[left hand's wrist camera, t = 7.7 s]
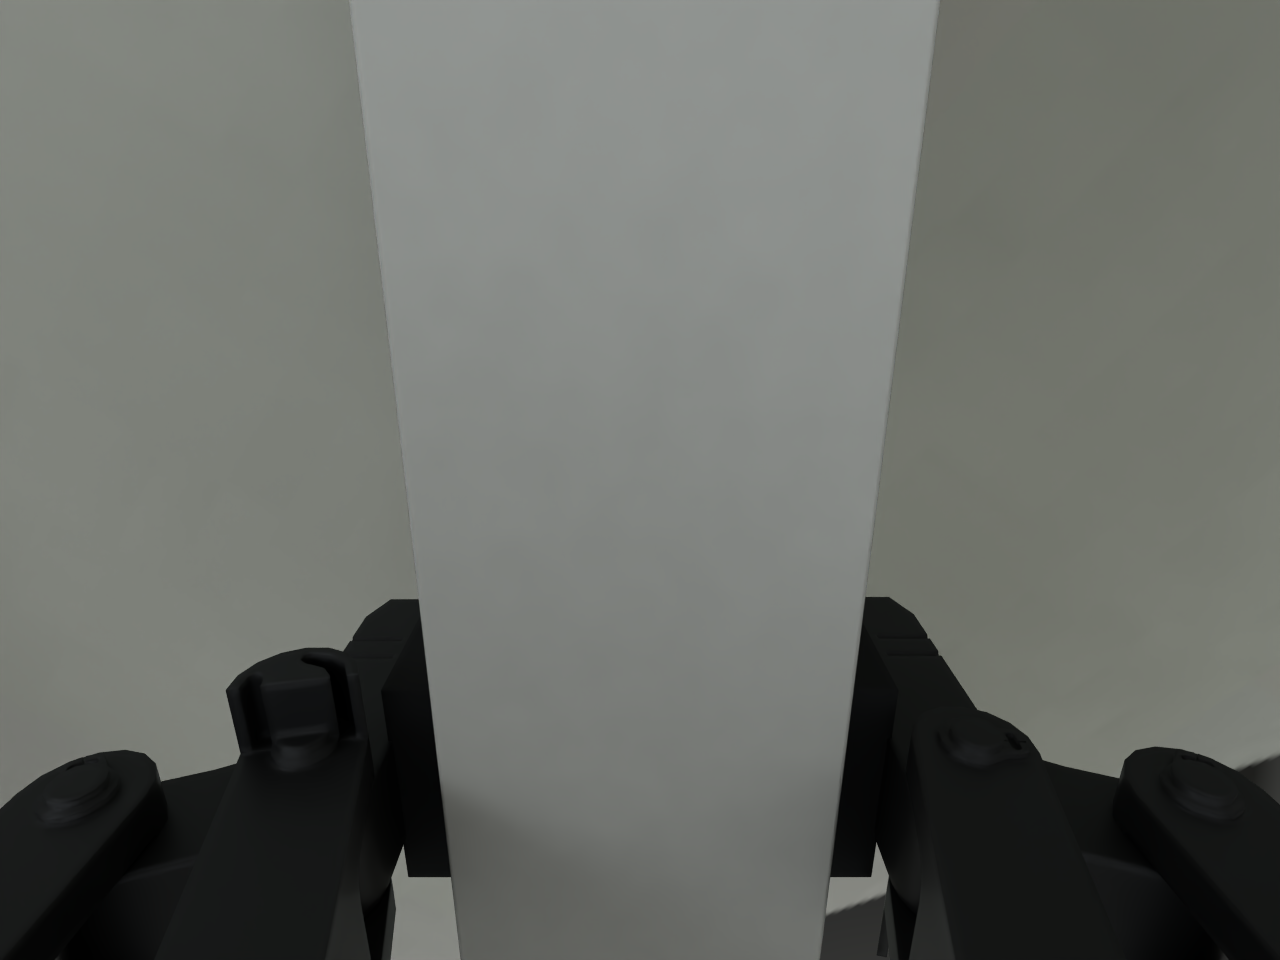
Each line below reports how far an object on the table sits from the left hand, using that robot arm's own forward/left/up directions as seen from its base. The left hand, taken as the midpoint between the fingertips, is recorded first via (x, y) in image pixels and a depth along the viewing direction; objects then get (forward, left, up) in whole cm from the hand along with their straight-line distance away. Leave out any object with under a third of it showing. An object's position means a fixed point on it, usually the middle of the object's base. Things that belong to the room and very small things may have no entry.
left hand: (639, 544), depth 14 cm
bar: (+7, +21, -1) cm, 22 cm away
